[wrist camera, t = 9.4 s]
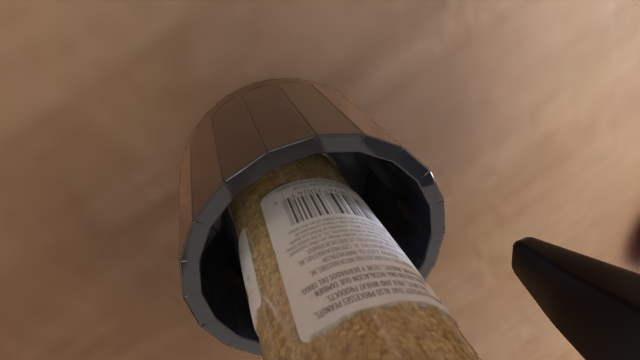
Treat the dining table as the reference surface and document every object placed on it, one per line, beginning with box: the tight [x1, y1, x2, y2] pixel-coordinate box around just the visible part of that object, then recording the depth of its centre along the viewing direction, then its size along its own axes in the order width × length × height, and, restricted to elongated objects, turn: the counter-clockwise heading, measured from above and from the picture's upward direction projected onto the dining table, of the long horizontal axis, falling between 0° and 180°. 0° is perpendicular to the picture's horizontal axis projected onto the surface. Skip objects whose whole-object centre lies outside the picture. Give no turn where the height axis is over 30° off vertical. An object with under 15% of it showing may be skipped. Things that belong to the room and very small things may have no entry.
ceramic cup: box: [179, 78, 445, 356], centre depth 13 cm, size 8×8×6 cm
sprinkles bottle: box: [228, 153, 481, 360], centre depth 10 cm, size 5×5×14 cm
